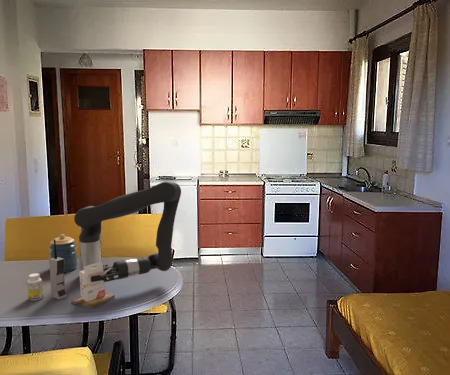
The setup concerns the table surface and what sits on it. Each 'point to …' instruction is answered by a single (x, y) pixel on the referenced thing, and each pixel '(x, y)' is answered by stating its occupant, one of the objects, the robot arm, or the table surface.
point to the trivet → (93, 301)
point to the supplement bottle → (35, 287)
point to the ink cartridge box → (91, 288)
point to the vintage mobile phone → (57, 276)
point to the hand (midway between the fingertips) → (87, 276)
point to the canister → (65, 251)
